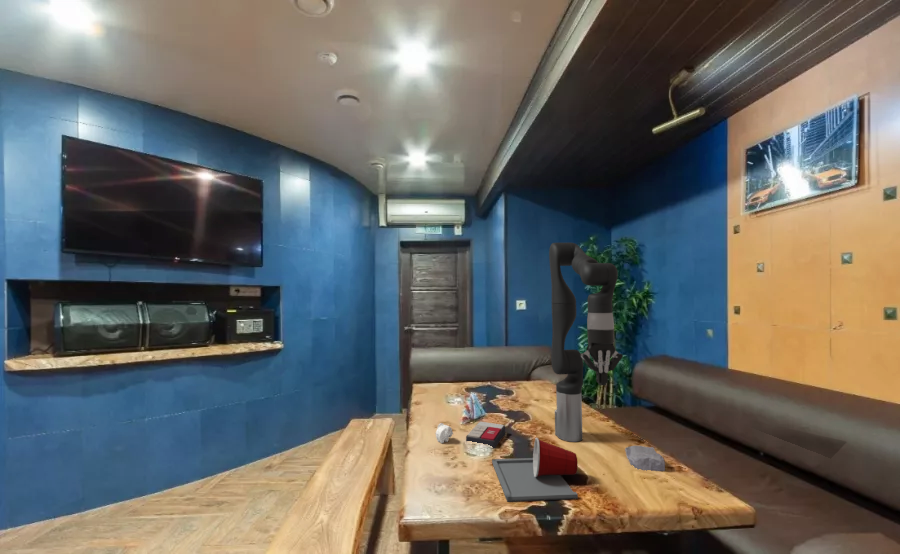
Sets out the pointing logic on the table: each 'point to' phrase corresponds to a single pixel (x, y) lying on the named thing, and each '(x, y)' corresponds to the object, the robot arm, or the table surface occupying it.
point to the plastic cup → (553, 460)
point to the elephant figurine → (443, 433)
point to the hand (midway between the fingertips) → (602, 384)
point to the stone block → (645, 458)
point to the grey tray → (529, 482)
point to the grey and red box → (487, 433)
